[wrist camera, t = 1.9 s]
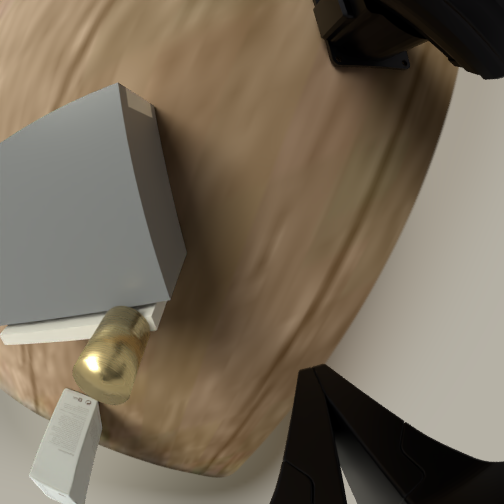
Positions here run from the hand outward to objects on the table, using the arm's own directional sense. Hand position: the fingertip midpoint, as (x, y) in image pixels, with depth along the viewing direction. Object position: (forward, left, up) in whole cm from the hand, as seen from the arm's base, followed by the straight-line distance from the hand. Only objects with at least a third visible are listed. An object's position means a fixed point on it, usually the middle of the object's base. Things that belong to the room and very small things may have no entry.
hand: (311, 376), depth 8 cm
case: (+12, -6, -12) cm, 18 cm away
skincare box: (+22, +14, -12) cm, 29 cm away
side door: (+12, 0, -12) cm, 17 cm away
